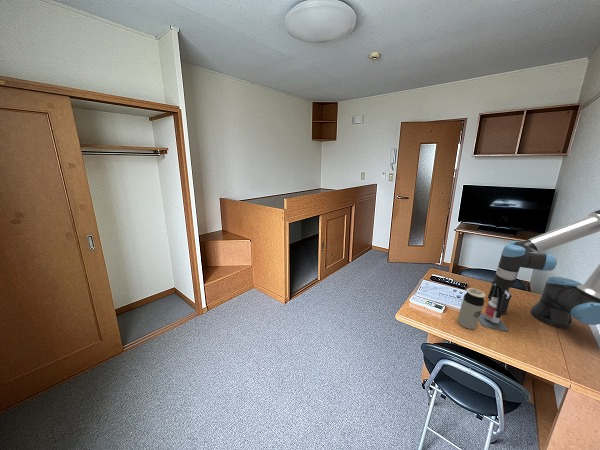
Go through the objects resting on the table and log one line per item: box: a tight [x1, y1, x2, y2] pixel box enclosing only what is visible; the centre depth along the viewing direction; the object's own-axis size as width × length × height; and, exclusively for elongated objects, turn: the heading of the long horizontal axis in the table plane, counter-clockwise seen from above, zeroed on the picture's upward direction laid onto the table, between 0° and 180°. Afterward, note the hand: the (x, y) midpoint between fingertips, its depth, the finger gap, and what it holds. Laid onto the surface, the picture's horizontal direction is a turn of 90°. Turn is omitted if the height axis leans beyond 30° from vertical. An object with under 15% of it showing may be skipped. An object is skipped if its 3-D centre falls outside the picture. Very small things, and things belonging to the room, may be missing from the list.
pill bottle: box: [484, 297, 498, 321], centre depth 120 cm, size 6×6×11 cm
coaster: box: [478, 312, 510, 333], centre depth 122 cm, size 11×11×1 cm
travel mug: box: [456, 287, 486, 330], centre depth 117 cm, size 8×8×18 cm
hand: (491, 317), depth 122 cm, fingers closed on pill bottle, 6 cm apart
